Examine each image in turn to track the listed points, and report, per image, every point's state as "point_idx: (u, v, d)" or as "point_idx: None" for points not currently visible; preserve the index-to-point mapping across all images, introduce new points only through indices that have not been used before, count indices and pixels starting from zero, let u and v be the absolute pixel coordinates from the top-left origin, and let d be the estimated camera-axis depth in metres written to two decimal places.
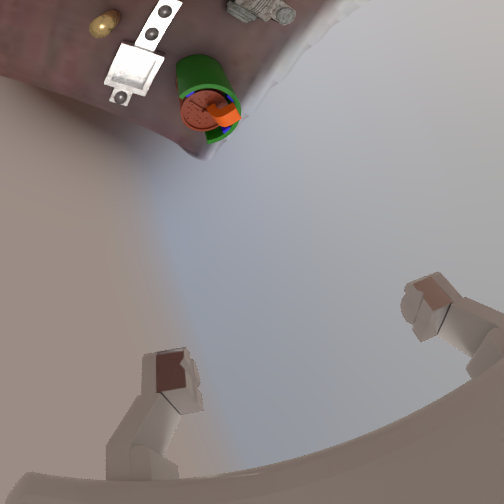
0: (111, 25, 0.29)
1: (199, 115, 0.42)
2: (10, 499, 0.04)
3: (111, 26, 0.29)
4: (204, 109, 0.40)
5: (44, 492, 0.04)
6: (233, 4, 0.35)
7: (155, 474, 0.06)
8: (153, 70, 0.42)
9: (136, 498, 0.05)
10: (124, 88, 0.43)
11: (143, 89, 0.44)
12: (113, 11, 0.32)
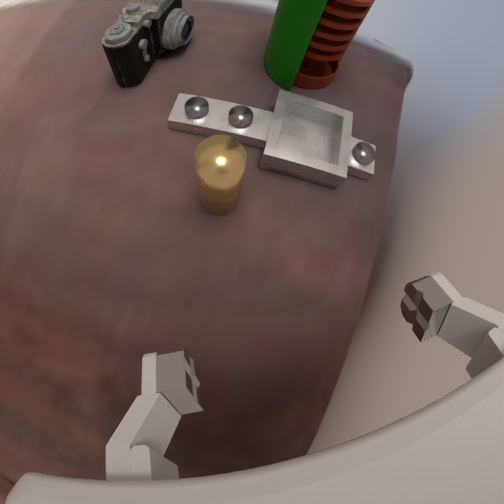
0: (216, 137, 0.20)
1: None
2: (10, 499, 0.04)
3: (219, 136, 0.20)
4: None
5: (44, 492, 0.04)
6: (165, 29, 0.26)
7: (155, 474, 0.06)
8: (305, 101, 0.28)
9: (136, 498, 0.05)
10: (347, 142, 0.27)
11: (341, 114, 0.28)
12: None
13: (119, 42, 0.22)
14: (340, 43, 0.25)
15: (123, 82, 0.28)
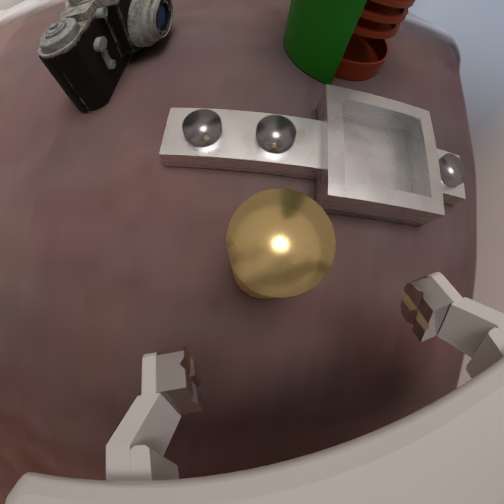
0: (265, 196, 0.10)
1: None
2: (10, 499, 0.04)
3: (270, 195, 0.10)
4: None
5: (44, 492, 0.04)
6: (131, 18, 0.16)
7: (155, 474, 0.06)
8: (367, 100, 0.17)
9: (136, 498, 0.05)
10: (434, 158, 0.17)
11: (417, 115, 0.17)
12: None
13: (61, 46, 0.13)
14: (395, 13, 0.15)
15: (83, 105, 0.19)
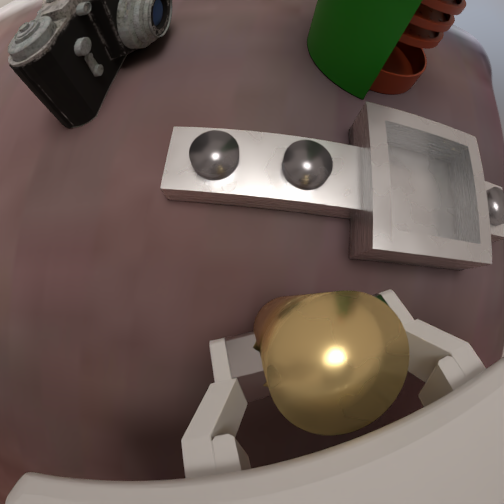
0: (323, 304, 0.06)
1: None
2: (10, 499, 0.04)
3: (330, 301, 0.07)
4: None
5: (44, 492, 0.04)
6: (120, 14, 0.13)
7: (241, 464, 0.06)
8: (413, 123, 0.14)
9: (136, 498, 0.05)
10: (483, 195, 0.13)
11: (465, 142, 0.14)
12: (255, 331, 0.13)
13: (33, 52, 0.09)
14: (440, 19, 0.11)
15: (65, 119, 0.16)
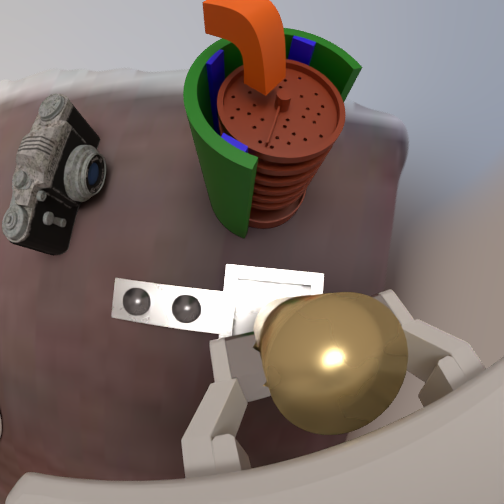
0: (323, 305, 0.07)
1: (303, 112, 0.15)
2: (10, 499, 0.04)
3: (329, 302, 0.07)
4: (277, 103, 0.15)
5: (44, 492, 0.04)
6: (67, 188, 0.23)
7: (241, 464, 0.06)
8: (260, 276, 0.24)
9: (136, 498, 0.05)
10: None
11: (309, 281, 0.24)
12: (255, 331, 0.13)
13: (19, 235, 0.20)
14: None
15: (49, 253, 0.26)
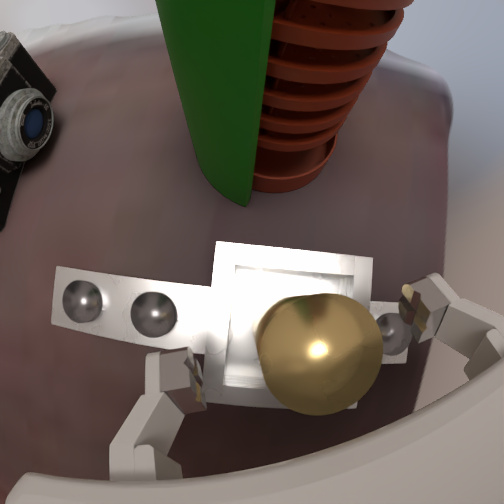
0: (307, 304, 0.08)
1: None
2: (10, 499, 0.04)
3: (313, 301, 0.08)
4: None
5: (44, 492, 0.04)
6: None
7: (159, 474, 0.06)
8: (273, 261, 0.15)
9: (136, 498, 0.05)
10: None
11: (350, 270, 0.15)
12: (253, 328, 0.14)
13: None
14: None
15: None
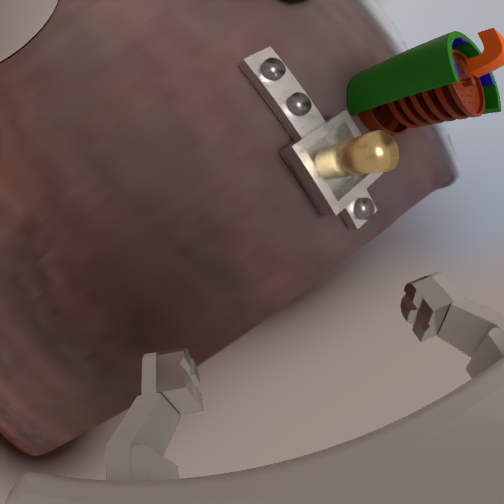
0: (389, 136, 0.22)
1: (468, 94, 0.20)
2: (10, 499, 0.04)
3: (390, 137, 0.22)
4: (466, 79, 0.19)
5: (44, 492, 0.04)
6: None
7: (155, 474, 0.06)
8: (356, 135, 0.29)
9: (136, 498, 0.05)
10: (359, 190, 0.30)
11: None
12: (330, 145, 0.28)
13: None
14: (421, 118, 0.27)
15: None
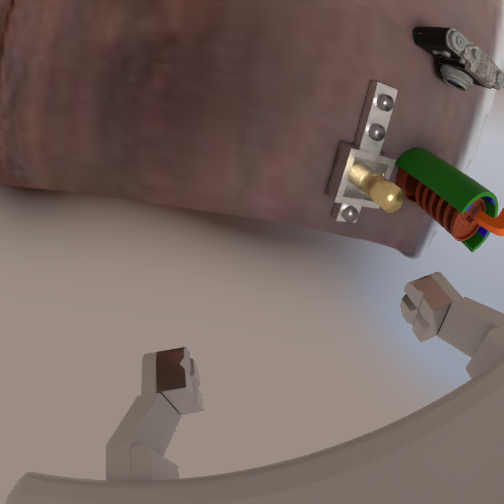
0: (403, 196, 0.34)
1: (463, 225, 0.34)
2: (10, 499, 0.04)
3: (403, 197, 0.34)
4: (470, 218, 0.33)
5: (44, 492, 0.04)
6: (456, 70, 0.29)
7: (155, 474, 0.06)
8: (386, 176, 0.40)
9: (136, 498, 0.05)
10: (358, 203, 0.42)
11: None
12: None
13: (449, 41, 0.25)
14: (428, 207, 0.40)
15: (417, 32, 0.29)
